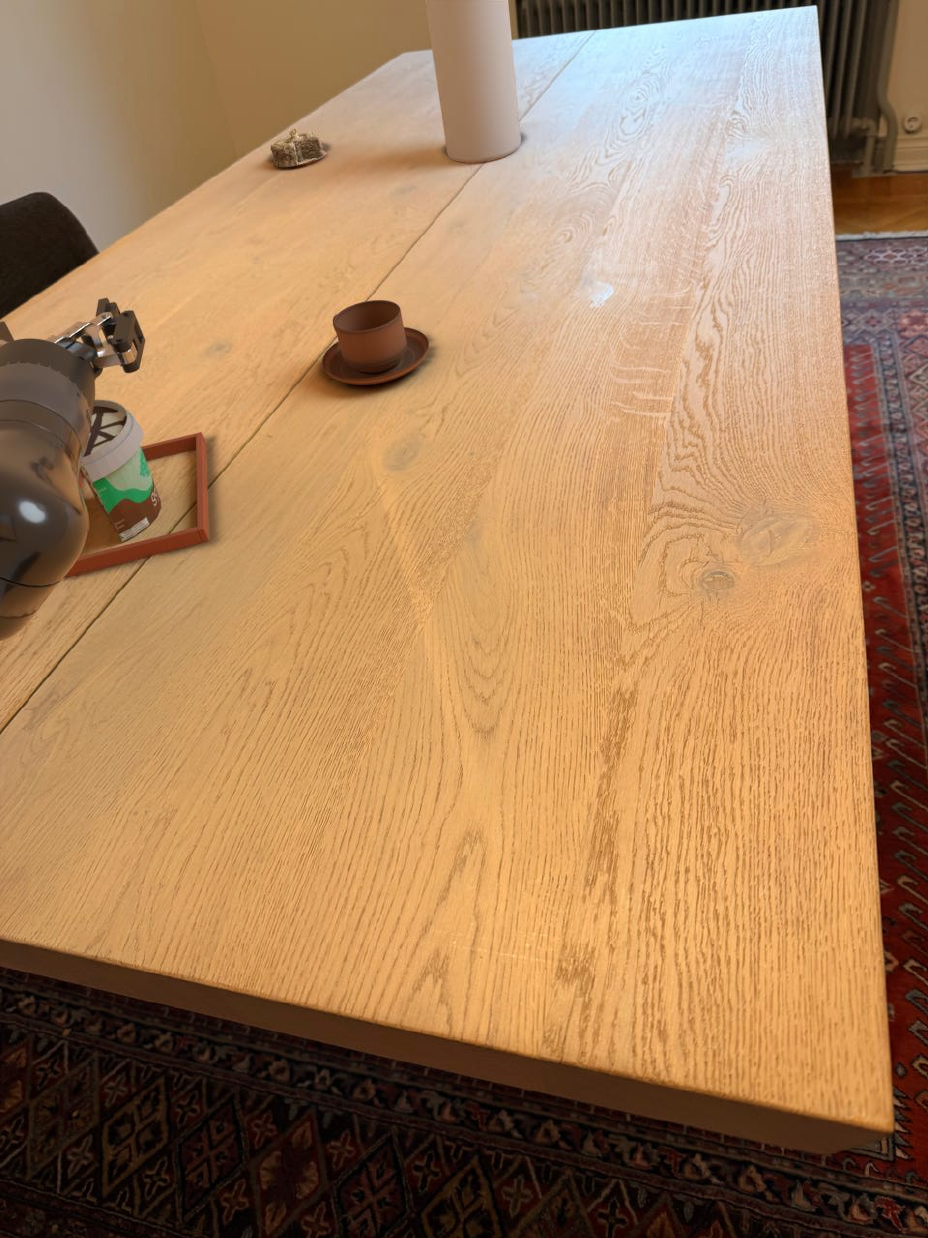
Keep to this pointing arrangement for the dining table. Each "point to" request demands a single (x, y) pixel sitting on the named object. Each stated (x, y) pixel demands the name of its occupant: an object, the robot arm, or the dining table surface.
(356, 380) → the cup and saucer
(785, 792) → the dining table surface
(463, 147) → the cylinder vase
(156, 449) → the square frame
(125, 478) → the food container
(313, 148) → the cake
